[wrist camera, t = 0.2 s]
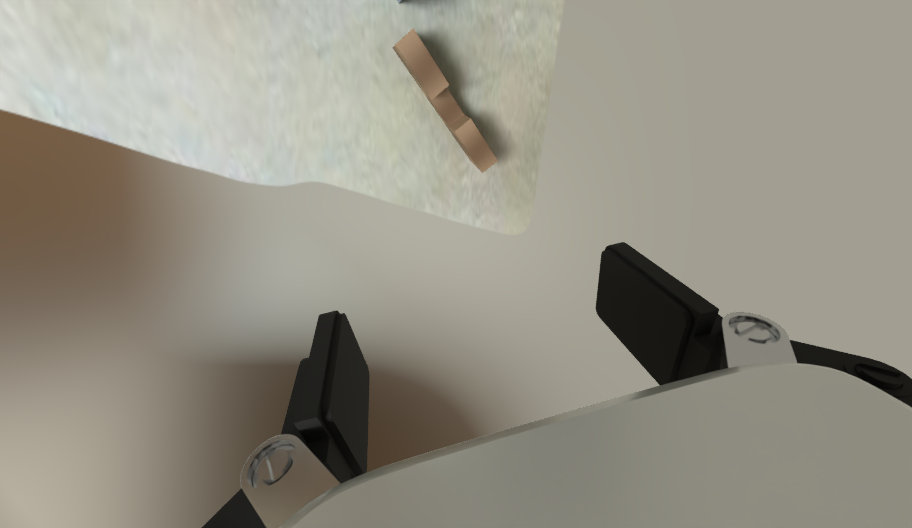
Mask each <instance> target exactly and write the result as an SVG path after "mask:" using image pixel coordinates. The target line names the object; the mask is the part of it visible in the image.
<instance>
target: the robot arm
mask: <svg viewBox="0 0 912 528" xmlns="http://www.w3.org/2000/svg"><path fill="white" fill-rule="evenodd" d="M718 311H719V309H718V308H717V307H715V306H714V305H712V304H711V303H709V302H708V301H707V300H705V299H704V298H703V297H701V296H700V295H698V294H697V293H695V292H694V291H693V290H691V289H690V288H688V287H687V286H686V285H684V284H683V283H681V282H680V281H679V280H677V279H676V278H674V277H673V276H671V275H670V274H669V273H667V272H666V271H664V270H663V269H662V268H660V267H659V266H657V265H656V264H655V263H653V262H652V261H650V260H649V259H647V258H646V257H645V256H643V255H642V254H640V253H639V252H638V251H636V250H635V249H633V248H632V247H631V246H629V245H628V244H626V243H624V242H622V243H617V244H614V245H609V246H607V247H606V249H605V251H603V252H602V255H601V264H600V273H599V283H598V291H597V301H596V312H597V314H598V316H599V317H600V318H601V319H602V321H603V322H604V323H605V324H606V325H607V326H608V327H609V329H610V330H611V331H612V332H613V333H614V334H615V335H616V336H617V338H618V339H619V340H620V341H621V342H622V343H623V344H624V345H625V346H626V348H627V349H628V350H629V351H630V352H631V353H632V354H633V356H634V357H635V358H636V359H637V360H638V361H639V362H640V363H641V365H642V366H643V367H644V368H645V369H646V370H647V371H648V372H649V374H650V375H651V376H652V377H653V378H654V379H655V380H656V381H657V382H658V384H659V385H660V386H657V387H654V388H650V389H647V390H643V391H639V392H636V393H633V394H629V395H626V396H622V397H618V398H614V399H611V400H607V401H604V402H600V403H597V404H593V405H590V406H586V407H583V408H579V409H576V410H572V411H569V412H565V413H562V414H558V415H555V416H552V417H548V418H544V419H541V420H538V421H534V422H530V423H527V424H524V425H520V426H517V427H513V428H510V429H506V430H503V431H500V432H496V433H493V434H489V435H486V436H482V437H479V438H476V439H472V440H469V441H465V442H462V443H459V444H455V445H452V446H448V447H445V448H442V449H438V450H435V451H432V452H428V453H426V454H422V455H419V456H416V457H412V458H409V459H406V460H403V461H400V462H396V463H393V464H390V465H387V466H384V467H381V468H379V469H376V470H373V471H370V472H367V473H366V471H367V446H368V409H369V371H368V366H367V364H366V362H365V359H364V357H363V354H362V352H361V350H360V347H359V345H358V343H357V340H356V338H355V335H354V333H353V331H352V329H351V326H350V324H349V321H348V319H347V317H346V315H345V314H344V313H343V314H340V313H339V312H338V311H333V312H329V313H324V314H321V315H319V318H318V322H317V326H316V330H315V335H314V339H313V343H312V348H311V352H310V356H309V358H305V359H303V360H302V361H301V362H300V365H299V369H298V372H297V376H296V380H295V384H294V387H293V391H292V395H291V399H290V403H289V406H288V410H287V414H286V418H285V421H284V425H283V429H282V433H281V435H278V436H276V437H273V438H271V439H269V440H267V441H266V442H265V443H263V444H262V445H260V446H259V447H258V448H257V449H256V450H255V451H254V452H253V453H252V454H251V456H250V457H249V459H248V460H247V462H246V463H245V465H244V467H243V470H242V472H241V479H240V484H241V487H242V488H241V489H240V490H239V491H238V492H237V493H236V494H235V495H234V496H233V497H232V498H231V499H230V500H229V501H228V502H227V503H226V504H225V505H224V506H223V507H222V508H221V509H220V510H219V511H218V512H217V513H216V514H215V515H214V516H213V517H212V518H211V519H210V520H209V521H208V522H207V523H206V524H205V525H204V526H203V527H202V528H912V379H911V378H910V377H909V376H907V375H906V374H904V373H903V372H901V371H899V370H897V369H896V368H894V367H892V366H889V365H887V364H885V363H882V362H880V361H876V360H873V359H870V358H866V357H861V356H856V355H852V354H848V353H844V352H839V351H835V350H831V349H826V348H822V347H818V346H814V345H809V344H805V343H801V342H797V341H792V340H789V337H788V335H787V333H786V332H785V330H784V329H783V328H782V327H781V326H780V325H778V324H777V323H775V322H773V321H772V320H770V319H768V318H765V317H763V316H760V315H756V314H752V313H744V312H736V313H730V314H727V315H726V316H725V317H724V318H722V317H721V316H720V315H718Z"/></svg>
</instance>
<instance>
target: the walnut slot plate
mask: <svg viewBox="0 0 912 528" xmlns="http://www.w3.org/2000/svg"><path fill="white" fill-rule="evenodd" d="M393 49H394V50H395V52H396V53H397V55H398V56H399V58H400V59H401V61H402V62H403V63H404V65H405V66H406V68H407V69H408V71H409V72H410V74H411V75H412V76H413V78H414V79H415V81H416V82H417V84H418V85H419V87H420V88H421V89H422V91H423V92H424V94H425V95H426V97H427V98H428V100H429V101H430V103H431V104H432V105H433V107H434V108H435V110H436V111H437V113H438V114H439V116H440V117H441V118H442V120H443V121H444V123H445V124H446V126H447V127H448V129H449V130H450V131H451V133H452V134H453V136H454V137H455V139H456V140H457V142H458V143H459V145H460V146H461V147H462V149H463V150H464V152H465V153H466V155H467V156H468V158H469V159H470V160H471V161H472V162H473V163H474V164H475V166H476V167H477V168H478V169H479V170H480V171H481V172H482V173H483V172H484V171H486V170H487V169H488V168H489V167H491V166H492V165H493V164H494V163H496V162H497V161H498V160H497V159H496V157H495V156H494V154H493V152H492V151H491V149H490V148H489V146H488V145H487V143H486V141H485V140H484V138H483V137H482V135H481V134H480V132H479V130H478V129H477V127H476V126H475V124H474V123H473V121H472V119H471V118H469V117H467V116H466V115H464V113H463V112H462V110H461V109H460V107H459V106H458V104H457V102H456V101H455V99H454V98H453V96H452V95H451V93H450V92H449V90H448V89H447V87H448V86H449V83H448V82H447V80H446V79H445V77H444V76H443V74H442V72H441V71H440V69H439V68H438V66H437V65H436V63H435V61H434V60H433V58H432V57H431V55H430V54H429V52H428V50H427V49H426V47H425V46H424V44H423V43H422V41H421V39H420V38H419V36H418V35H417V33H416V32H415V30H414V28H413V29H412V30H411V31H410V32H409V33H408V34H406V35H405V36H404V37H403V38H402V39H401V40H400V41H399V42H398V43H397V44H395V46H394V47H393Z"/></svg>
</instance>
